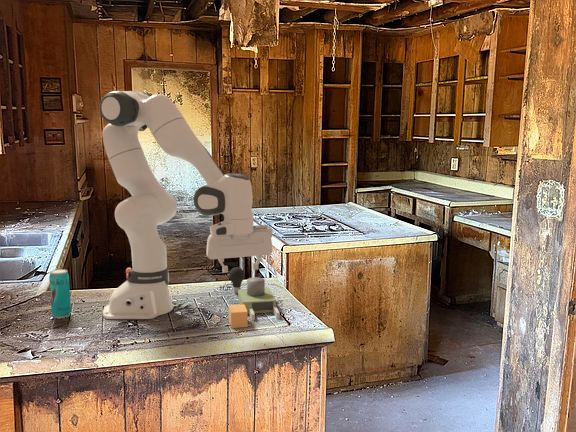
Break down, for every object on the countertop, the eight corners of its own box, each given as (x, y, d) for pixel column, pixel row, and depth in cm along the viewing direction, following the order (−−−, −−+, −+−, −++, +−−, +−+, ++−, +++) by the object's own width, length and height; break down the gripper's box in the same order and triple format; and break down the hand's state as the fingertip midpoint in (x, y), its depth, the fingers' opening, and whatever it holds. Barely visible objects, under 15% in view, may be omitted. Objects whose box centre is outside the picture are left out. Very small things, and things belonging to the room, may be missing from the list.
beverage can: (49, 316, 172) (45, 271, 170) (66, 312, 176) (63, 267, 174) (56, 320, 168) (53, 274, 166) (74, 316, 172) (71, 271, 170)
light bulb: (232, 296, 193) (232, 270, 191) (227, 292, 198) (226, 266, 196) (247, 294, 195) (246, 268, 194) (241, 290, 200) (240, 264, 199)
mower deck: (245, 321, 169) (245, 293, 167) (238, 300, 189) (237, 275, 187) (279, 318, 171) (279, 291, 170) (268, 298, 191) (268, 274, 189)
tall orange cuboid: (231, 328, 163) (231, 312, 162) (228, 320, 170) (228, 305, 169) (247, 327, 164) (247, 311, 163) (244, 319, 171) (244, 304, 170)
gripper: (269, 222, 169) (270, 265, 171) (204, 227, 163) (206, 271, 166) (274, 226, 163) (275, 270, 165) (207, 230, 157) (209, 276, 160)
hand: (240, 270), depth 165 cm, fingers open, 8 cm apart
